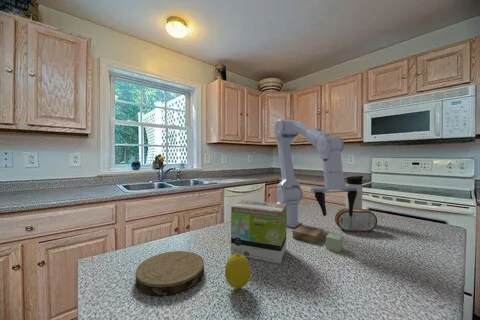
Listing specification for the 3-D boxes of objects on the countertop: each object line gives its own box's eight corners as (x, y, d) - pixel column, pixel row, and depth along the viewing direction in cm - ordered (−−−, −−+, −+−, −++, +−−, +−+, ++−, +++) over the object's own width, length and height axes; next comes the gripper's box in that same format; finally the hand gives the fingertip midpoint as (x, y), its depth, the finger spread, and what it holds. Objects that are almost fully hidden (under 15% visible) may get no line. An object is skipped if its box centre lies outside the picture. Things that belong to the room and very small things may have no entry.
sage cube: (325, 249, 70) (325, 236, 70) (329, 245, 73) (329, 233, 73) (339, 252, 68) (339, 239, 67) (342, 248, 71) (342, 236, 71)
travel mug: (365, 223, 95) (366, 176, 94) (349, 223, 95) (350, 176, 94) (357, 219, 101) (358, 175, 100) (343, 219, 101) (343, 175, 100)
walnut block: (292, 239, 79) (292, 230, 79) (301, 232, 85) (301, 224, 85) (315, 245, 74) (315, 236, 74) (323, 237, 80) (323, 229, 80)
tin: (374, 230, 87) (374, 208, 87) (378, 233, 84) (378, 210, 84) (334, 228, 89) (334, 207, 88) (337, 231, 86) (337, 209, 85)
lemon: (224, 282, 52) (224, 248, 52) (248, 281, 53) (248, 247, 52) (225, 297, 47) (225, 259, 46) (251, 296, 47) (251, 258, 47)
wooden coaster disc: (183, 304, 45) (183, 290, 45) (119, 291, 49) (119, 277, 49) (214, 266, 60) (214, 255, 60) (162, 258, 65) (162, 248, 64)
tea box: (229, 256, 65) (229, 206, 65) (241, 243, 75) (241, 199, 74) (281, 265, 60) (281, 210, 60) (286, 249, 70) (287, 202, 69)
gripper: (307, 174, 72) (311, 217, 71) (357, 170, 65) (363, 218, 64) (312, 174, 78) (316, 214, 77) (358, 171, 71) (363, 214, 70)
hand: (337, 215), depth 71 cm, fingers open, 7 cm apart
